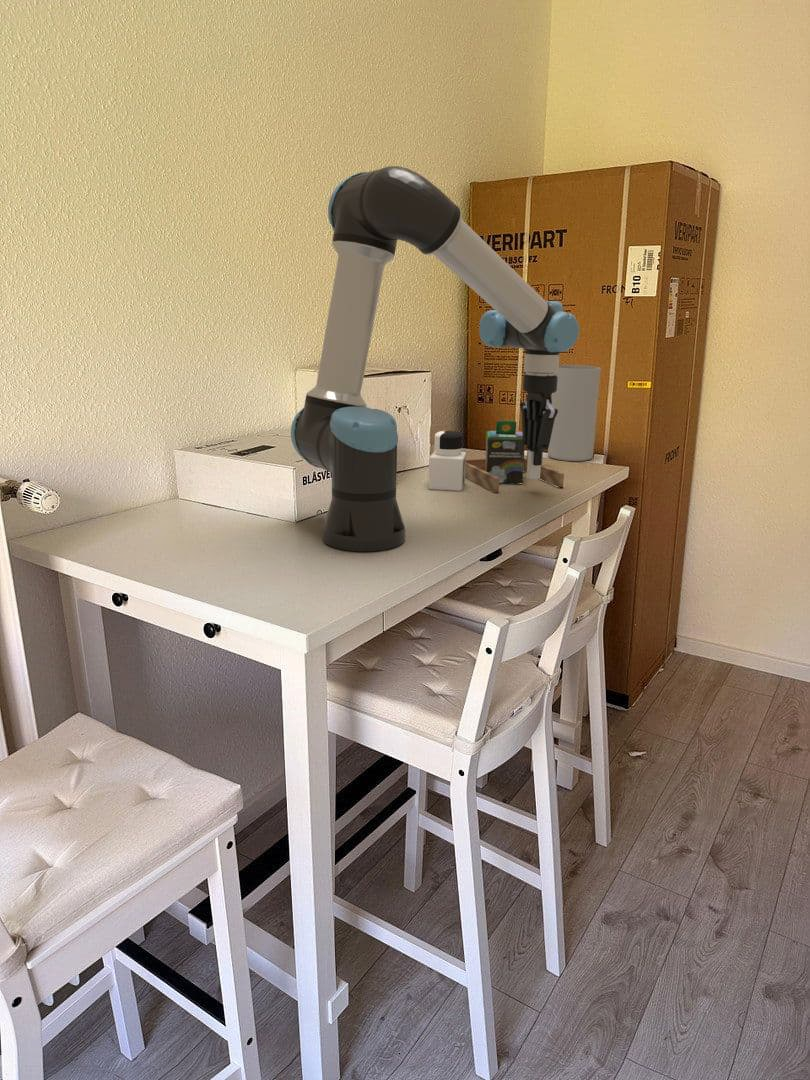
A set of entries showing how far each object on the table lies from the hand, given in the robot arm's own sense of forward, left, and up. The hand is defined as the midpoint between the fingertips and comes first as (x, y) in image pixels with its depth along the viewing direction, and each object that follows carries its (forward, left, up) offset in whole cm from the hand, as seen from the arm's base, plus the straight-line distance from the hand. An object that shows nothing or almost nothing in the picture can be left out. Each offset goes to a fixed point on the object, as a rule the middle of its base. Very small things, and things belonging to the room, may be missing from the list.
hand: (533, 478), depth 179 cm
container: (+11, +17, -4) cm, 20 cm away
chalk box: (+13, +1, -4) cm, 14 cm away
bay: (+12, 0, -3) cm, 12 cm away
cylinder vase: (+34, -31, -4) cm, 46 cm away
